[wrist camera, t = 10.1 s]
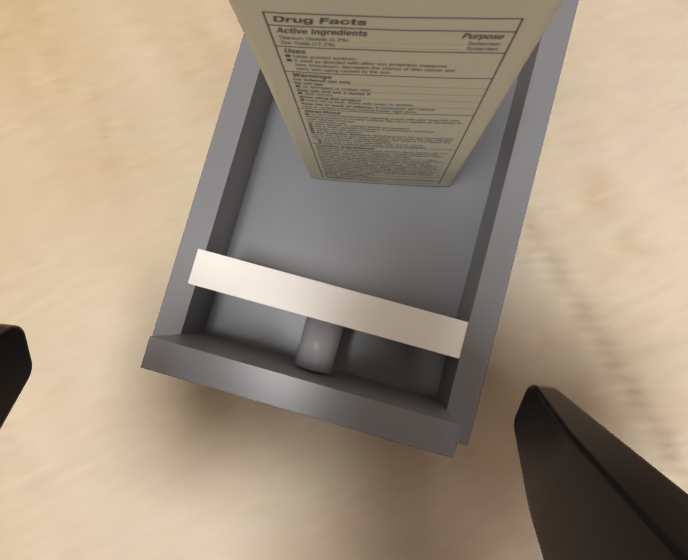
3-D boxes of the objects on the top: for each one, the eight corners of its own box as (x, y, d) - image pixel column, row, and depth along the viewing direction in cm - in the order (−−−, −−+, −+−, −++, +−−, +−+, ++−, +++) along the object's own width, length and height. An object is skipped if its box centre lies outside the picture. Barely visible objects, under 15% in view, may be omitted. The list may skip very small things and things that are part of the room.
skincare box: (456, 91, 20) (594, -246, 8) (451, 193, 20) (585, -4, 8) (310, 84, 21) (235, -252, 8) (302, 184, 20) (212, -19, 8)
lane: (548, 32, 21) (620, -80, 15) (449, 423, 20) (485, 467, 14) (294, -27, 22) (269, -155, 16) (183, 347, 21) (111, 358, 15)
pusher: (446, 321, 19) (468, 322, 15) (427, 394, 19) (444, 414, 15) (231, 263, 20) (197, 248, 16) (211, 332, 20) (172, 335, 16)
